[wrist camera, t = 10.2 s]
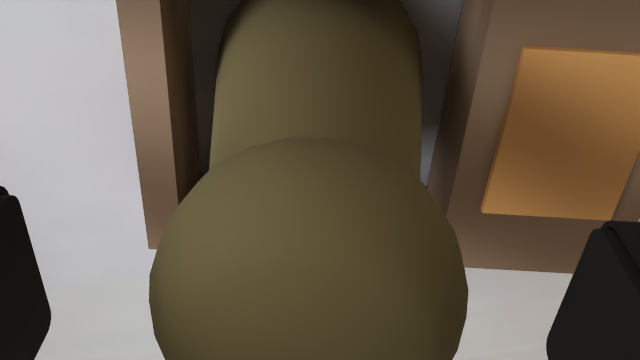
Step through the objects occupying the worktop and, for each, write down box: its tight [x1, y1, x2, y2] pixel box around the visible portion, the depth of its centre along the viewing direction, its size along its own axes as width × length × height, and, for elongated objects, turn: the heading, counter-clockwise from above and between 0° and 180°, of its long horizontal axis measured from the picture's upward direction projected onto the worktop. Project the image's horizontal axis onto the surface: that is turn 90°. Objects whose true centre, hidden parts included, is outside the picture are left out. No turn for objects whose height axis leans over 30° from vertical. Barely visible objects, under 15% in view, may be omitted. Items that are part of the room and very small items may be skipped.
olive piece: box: [149, 0, 468, 360], centre depth 13 cm, size 6×6×11 cm
